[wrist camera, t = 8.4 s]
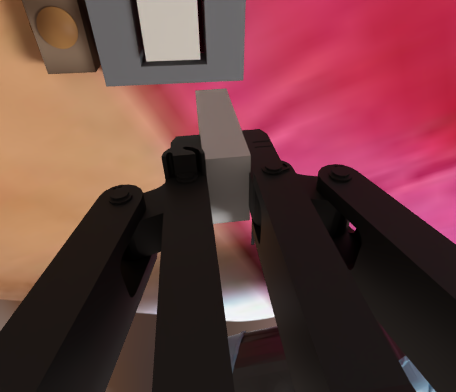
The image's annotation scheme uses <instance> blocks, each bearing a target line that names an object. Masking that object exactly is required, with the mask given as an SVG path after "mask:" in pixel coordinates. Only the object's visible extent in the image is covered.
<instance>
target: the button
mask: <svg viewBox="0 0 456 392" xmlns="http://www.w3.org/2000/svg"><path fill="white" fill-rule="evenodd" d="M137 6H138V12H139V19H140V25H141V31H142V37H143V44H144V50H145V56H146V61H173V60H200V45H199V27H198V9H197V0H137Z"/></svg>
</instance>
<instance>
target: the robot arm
mask: <svg viewBox="0 0 456 392" xmlns="http://www.w3.org/2000/svg"><path fill="white" fill-rule="evenodd" d="M195 92H196V103H197V114H198V125H199V135H191V136H178V137H176V138H175V139H174V140H173V141H172V142H171V148H170V149H168V150H166V151H165V152H164V153H163V155H162V163H163V168H164V173H165V179H166V181H165V184H163V185H162V186H161V187H159V188H157V189H154V190H152V191H148V192H145V193H143V192H142V190H141V189H140V188H139V187H137V186H134V185H118V186H115V187H112V188H110V189H108V190H106V191H104V192H103V193H102V194H101V195H100V196H99V198H98V199H97V200H96V202H95V203H94V204H93V206H92V207H91V208H90V210H89V211H88V213H87V214H86V215H85V217H84V218H83V219H82V221H81V222H80V223H79V225H78V226H77V228H76V229H75V230H74V232H73V233H72V234H71V236H70V237H69V238H68V240H67V241H66V243H65V244H64V245H63V247H62V248H61V249H60V251H59V252H58V253H57V255H56V256H55V258H54V259H53V260H52V262H51V263H50V264H49V266H48V267H47V268H46V270H45V271H44V273H43V274H42V275H41V277H40V278H39V279H38V281H37V282H36V283H35V285H34V286H33V288H32V289H31V290H30V292H29V293H28V294H27V296H26V297H25V298H24V300H23V301H22V303H21V304H20V305H19V307H18V308H17V309H16V311H15V312H14V313H13V315H12V316H11V318H10V319H9V320H8V322H7V323H6V324H5V326H4V327H3V328H2V330H1V331H0V392H105V391H106V388H107V385H108V383H109V380H110V377H111V375H112V372H113V370H114V367H115V365H116V362H117V360H118V357H119V354H120V352H121V349H122V346H123V344H124V342H125V339H126V336H127V334H128V331H129V329H130V326H131V323H132V321H133V318H134V315H135V313H136V311H137V308H138V305H139V303H140V300H141V298H142V295H143V292H144V290H145V287H146V285H147V282H148V280H149V277H150V274H151V272H152V269H153V267H154V264H155V261H156V259H157V253H158V252H161V259H160V275H159V290H158V306H157V322H156V337H155V353H154V354H155V355H154V369H153V384H152V392H456V244H454V243H453V242H452V241H450V240H449V239H448V238H446V237H445V236H444V235H442V234H441V233H440V232H438V231H437V230H436V229H434V228H433V227H432V226H430V225H429V224H427V223H426V222H425V221H423V220H422V219H421V218H419V217H418V216H417V215H415V214H414V213H413V212H411V211H410V210H409V209H407V208H406V207H405V206H403V205H402V204H401V203H399V202H398V201H397V200H395V199H394V198H393V197H391V196H390V195H389V194H387V193H386V192H385V191H383V190H382V189H381V188H379V187H378V186H377V185H375V184H374V183H372V182H371V181H370V180H368V179H367V178H366V177H364V176H363V175H362V174H360V173H359V172H358V171H356V170H354V169H353V168H351V167H347V166H344V165H338V164H334V165H327V166H324V167H322V168H321V169H320V170H319V172H318V177H317V176H307V175H300V174H297V173H295V171H294V169H293V167H292V166H291V165H290V164H289V163H287V162H285V161H281V160H280V158H279V156H278V154H277V152H276V150H275V148H274V146H273V144H272V142H271V141H270V139H269V137H268V135H267V134H266V133H265V132H263V131H262V130H260V129H255V130H241V127H240V125H239V122H238V119H237V117H236V114H235V111H234V108H233V106H232V103H231V100H230V98H229V95H228V92H227V89H213V90H198V91H195ZM250 213H251V216H252V239H251V245H254V243H255V244H256V247H257V251H258V255H259V259H260V262H261V266H262V270H263V274H264V278H265V281H266V285H267V289H268V293H269V296H270V300H271V304H272V308H273V312H274V315H275V319H276V323H277V326H276V327H271V328H266V329H261V330H255V331H250V332H246V331H242V332H241V333H240V334H236V335H233V336H229V337H228V336H227V328H226V320H225V313H224V305H223V297H222V289H221V282H220V274H219V266H218V259H217V251H216V243H215V235H214V228H213V224H216V223H225V222H235V221H245V220H249V219H250ZM350 222H351V223H352V224H353V225H354V226H355V227H356V230H355V231H354V230H353V229H351V228H350V227H349V223H350Z"/></svg>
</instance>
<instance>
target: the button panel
mask: <svg viewBox="0 0 456 392" xmlns="http://www.w3.org/2000/svg"><path fill="white" fill-rule="evenodd" d="M85 2H86V6H87V10H88V14H89V18H90V22H91V26H92V30H93V34H94V38H95V42H96V46H97V50H98V54H99V58H100V62H101V66H102V70H103V74H104V78H105V82H106V86H127V85H150V84H172V83H195V82H218V81H240V80H243V73H244V37H245V2H246V0H202V18H203V39H204V53H200V60H173V61H146V56H145V51H144V45H143V39H142V32H141V26H140V20H139V14H138V7H137V1H136V0H85Z"/></svg>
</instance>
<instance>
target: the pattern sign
mask: <svg viewBox="0 0 456 392" xmlns="http://www.w3.org/2000/svg"><path fill="white" fill-rule="evenodd" d="M22 2H23V5H24V8H25V11H26V13H27V16H28V19H29V22H30V26H31V29H32V32H33V33H34V36H35V38H36V41H37V44H38V47H39V50H40V52H41V55H42V58H43V61H44V64H45V66H46V69H47V72H48V74H61V73H86V72H96V71H97V70H98V68H99V67H100V65H101V62H100V58H99V54H98V50H97V46H96V42H95V38H94V34H93V30H92V26H91V22H90V18H89V14H88V10H87V6H86V2H85V0H22Z"/></svg>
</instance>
